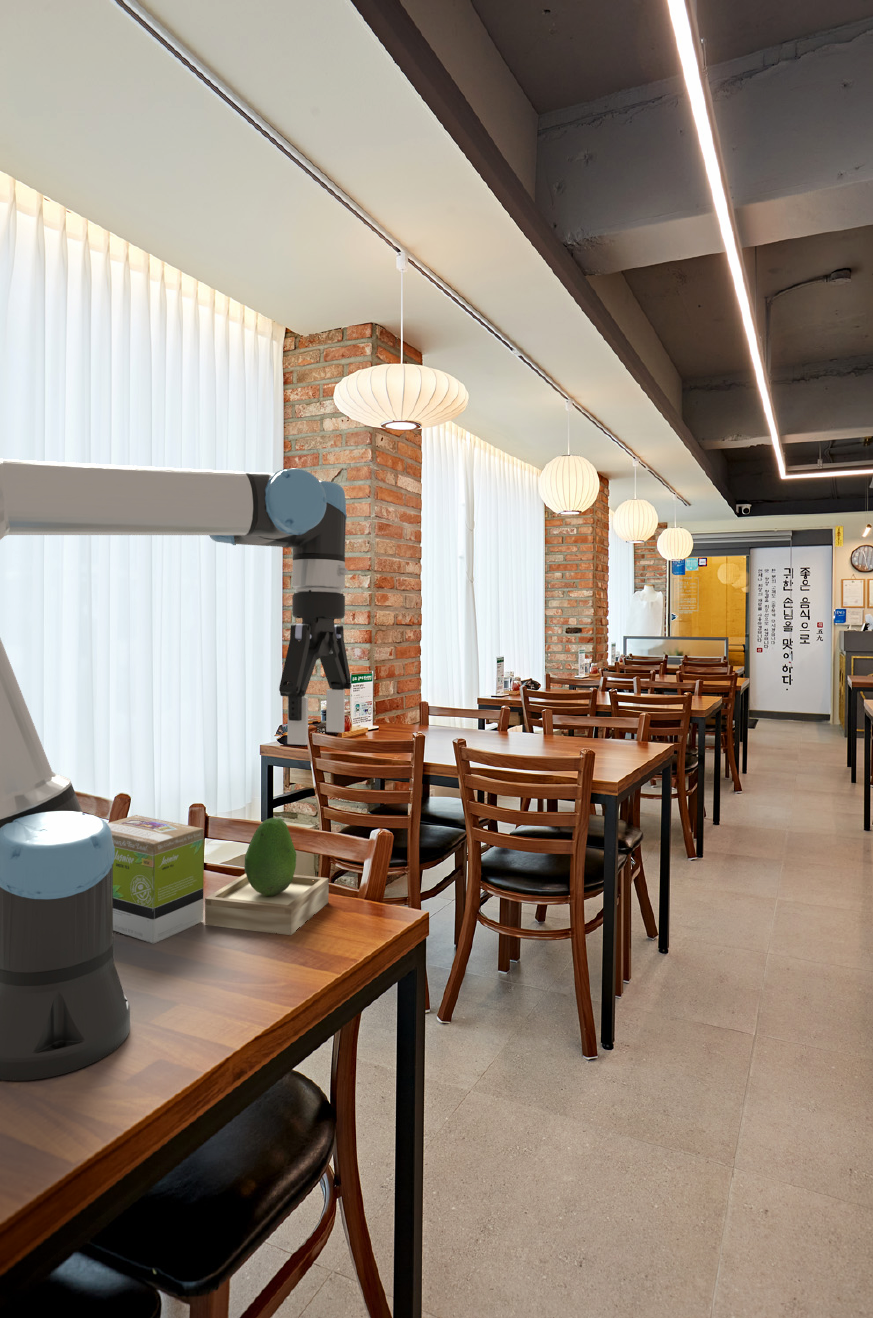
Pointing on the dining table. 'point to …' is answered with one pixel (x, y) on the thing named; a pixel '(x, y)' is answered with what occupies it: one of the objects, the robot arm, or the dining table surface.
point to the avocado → (270, 858)
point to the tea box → (156, 877)
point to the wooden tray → (266, 905)
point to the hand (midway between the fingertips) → (317, 737)
